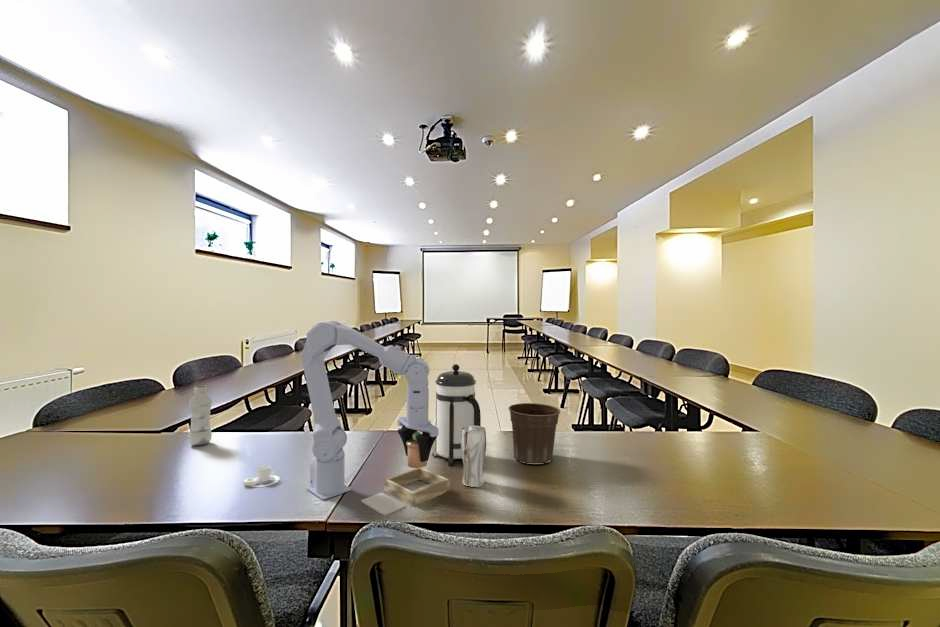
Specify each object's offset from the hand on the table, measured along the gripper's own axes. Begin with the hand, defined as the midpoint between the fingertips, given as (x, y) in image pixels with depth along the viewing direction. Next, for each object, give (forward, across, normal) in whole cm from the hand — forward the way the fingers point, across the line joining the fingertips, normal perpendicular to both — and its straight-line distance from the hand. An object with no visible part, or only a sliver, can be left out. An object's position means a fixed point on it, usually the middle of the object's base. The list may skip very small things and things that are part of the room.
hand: (417, 457), depth 109 cm
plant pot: (+9, -8, -41) cm, 43 cm away
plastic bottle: (+9, +81, +30) cm, 87 cm away
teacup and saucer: (+10, +37, +27) cm, 47 cm away
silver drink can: (+9, -7, -14) cm, 18 cm away
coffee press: (+9, +9, -24) cm, 27 cm away
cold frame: (+9, 0, 0) cm, 9 cm away
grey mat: (+9, 0, +10) cm, 14 cm away
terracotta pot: (+2, 0, 0) cm, 2 cm away
